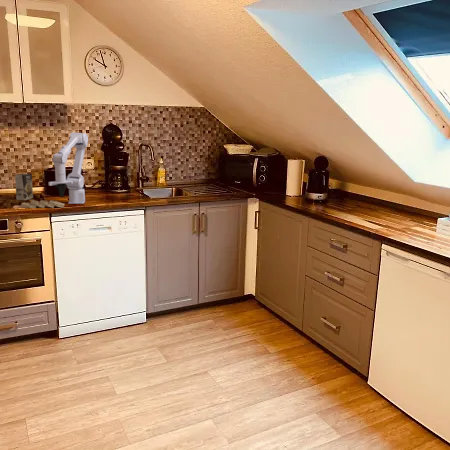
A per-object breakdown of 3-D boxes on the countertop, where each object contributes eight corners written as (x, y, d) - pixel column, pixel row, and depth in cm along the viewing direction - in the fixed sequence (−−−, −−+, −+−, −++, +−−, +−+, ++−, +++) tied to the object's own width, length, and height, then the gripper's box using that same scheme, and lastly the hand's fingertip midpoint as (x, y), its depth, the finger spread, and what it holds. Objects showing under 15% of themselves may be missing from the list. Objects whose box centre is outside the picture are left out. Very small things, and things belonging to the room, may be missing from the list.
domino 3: (55, 203, 286) (41, 199, 284) (54, 205, 282) (40, 201, 280) (54, 206, 287) (41, 202, 285) (53, 207, 282) (39, 203, 280)
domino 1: (37, 203, 285) (23, 202, 283) (35, 205, 280) (21, 204, 278) (37, 206, 285) (23, 205, 283) (35, 208, 280) (21, 206, 279)
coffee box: (25, 200, 301) (23, 175, 297) (16, 199, 302) (14, 174, 298) (33, 198, 310) (32, 173, 306) (24, 197, 311) (23, 172, 307)
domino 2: (46, 203, 285) (32, 199, 283) (44, 205, 281) (31, 201, 279) (45, 206, 286) (32, 202, 284) (44, 207, 281) (30, 203, 279)
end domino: (28, 205, 284) (14, 205, 283) (26, 207, 279) (12, 207, 278) (29, 208, 284) (14, 208, 283) (27, 210, 280) (12, 210, 278)
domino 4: (64, 203, 287) (51, 199, 285) (63, 205, 282) (49, 201, 281) (63, 206, 287) (50, 202, 286) (62, 207, 283) (48, 203, 281)
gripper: (68, 172, 288) (69, 194, 291) (45, 174, 278) (46, 196, 281) (74, 173, 284) (75, 196, 287) (51, 175, 273) (52, 198, 276)
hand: (61, 196), depth 283 cm, fingers closed
